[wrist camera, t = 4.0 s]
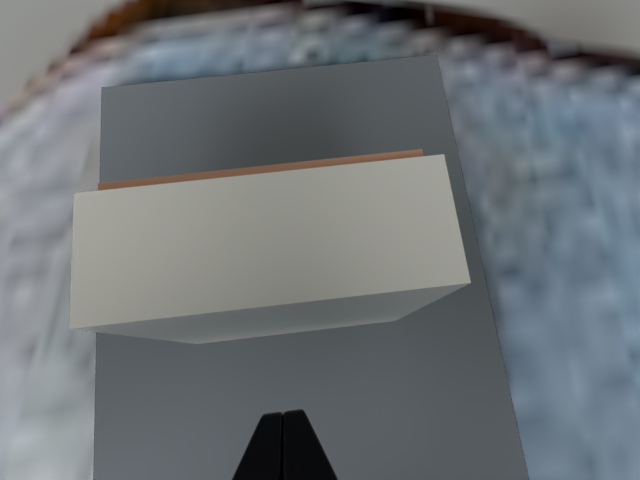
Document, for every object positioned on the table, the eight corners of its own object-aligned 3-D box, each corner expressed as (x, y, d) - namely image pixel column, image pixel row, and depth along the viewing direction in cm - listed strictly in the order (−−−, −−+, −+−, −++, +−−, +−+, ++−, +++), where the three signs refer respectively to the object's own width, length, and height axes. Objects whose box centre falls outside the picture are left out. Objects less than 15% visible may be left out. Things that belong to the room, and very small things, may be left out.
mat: (517, 479, 15) (530, 488, 14) (107, 532, 14) (91, 545, 14) (430, 69, 19) (436, 54, 18) (113, 101, 19) (101, 87, 18)
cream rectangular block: (395, 320, 15) (471, 282, 8) (196, 343, 15) (69, 328, 7) (382, 245, 16) (441, 140, 8) (193, 265, 16) (74, 178, 8)
